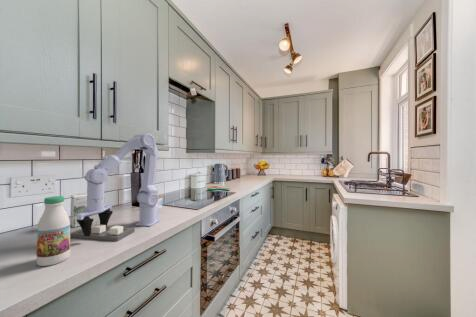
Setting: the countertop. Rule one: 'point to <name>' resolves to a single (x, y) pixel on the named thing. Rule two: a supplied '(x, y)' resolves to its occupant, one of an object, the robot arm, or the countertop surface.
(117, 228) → the switch
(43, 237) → the milk bottle
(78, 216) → the robot arm
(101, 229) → the switch
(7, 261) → the countertop surface
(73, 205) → the syrup box
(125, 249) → the countertop surface
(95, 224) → the switch
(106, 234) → the switch panel
